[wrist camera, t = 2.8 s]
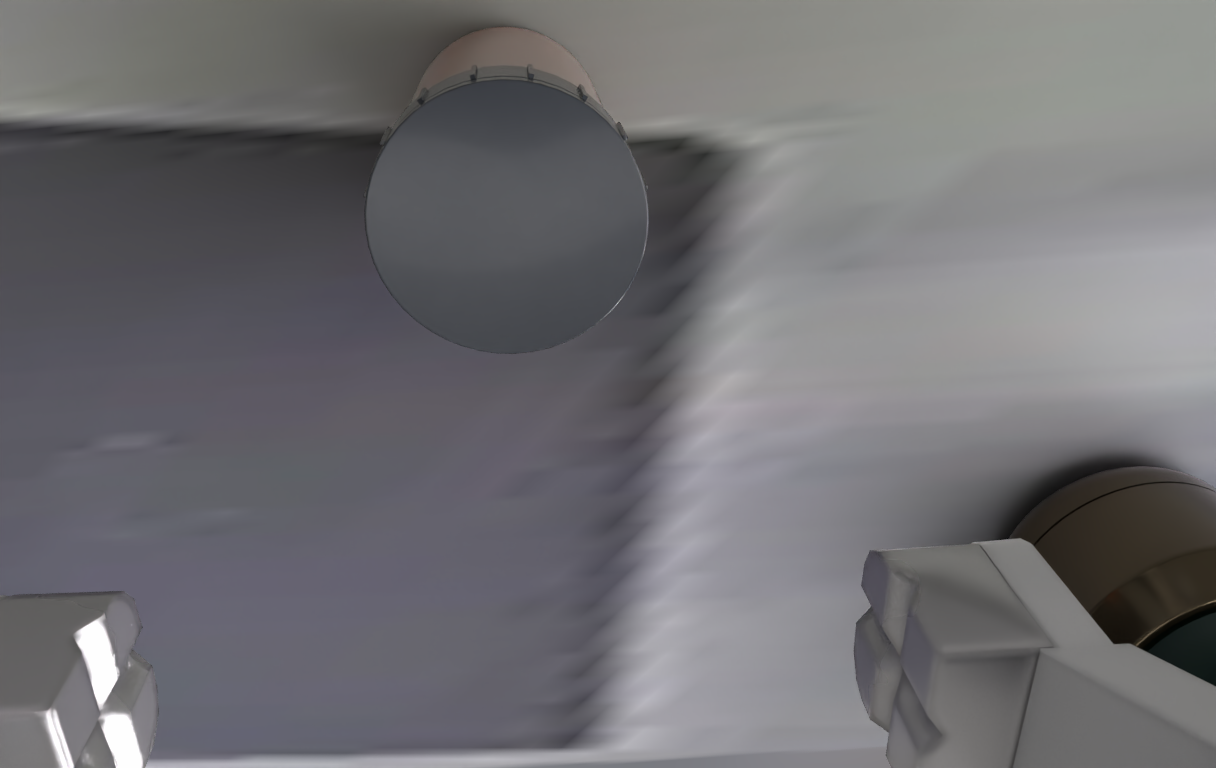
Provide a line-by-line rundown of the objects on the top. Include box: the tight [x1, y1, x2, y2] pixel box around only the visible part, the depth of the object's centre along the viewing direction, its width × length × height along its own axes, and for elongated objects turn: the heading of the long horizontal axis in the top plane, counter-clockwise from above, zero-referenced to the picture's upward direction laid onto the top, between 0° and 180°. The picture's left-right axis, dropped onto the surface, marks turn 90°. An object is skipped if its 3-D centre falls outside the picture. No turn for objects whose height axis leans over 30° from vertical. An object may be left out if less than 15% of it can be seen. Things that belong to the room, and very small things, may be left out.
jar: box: [410, 27, 603, 107], centre depth 26 cm, size 6×6×10 cm
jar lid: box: [364, 64, 649, 354], centre depth 22 cm, size 6×6×2 cm
